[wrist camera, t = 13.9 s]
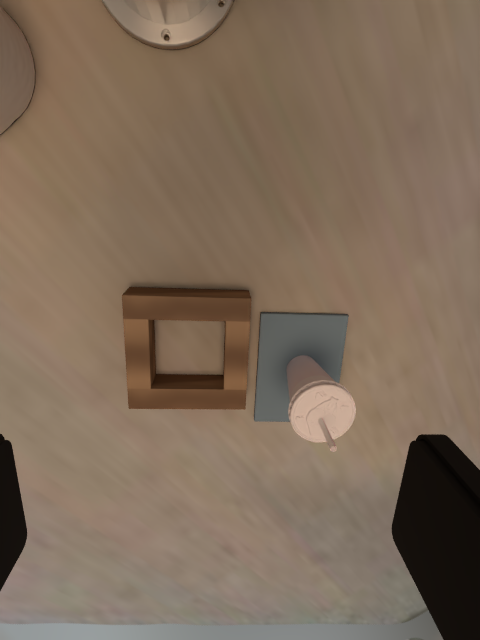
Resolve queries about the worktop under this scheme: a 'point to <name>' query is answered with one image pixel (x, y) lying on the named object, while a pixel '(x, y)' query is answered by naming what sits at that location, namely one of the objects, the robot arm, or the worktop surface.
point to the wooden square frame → (185, 389)
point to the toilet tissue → (14, 71)
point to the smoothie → (317, 402)
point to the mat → (294, 355)
